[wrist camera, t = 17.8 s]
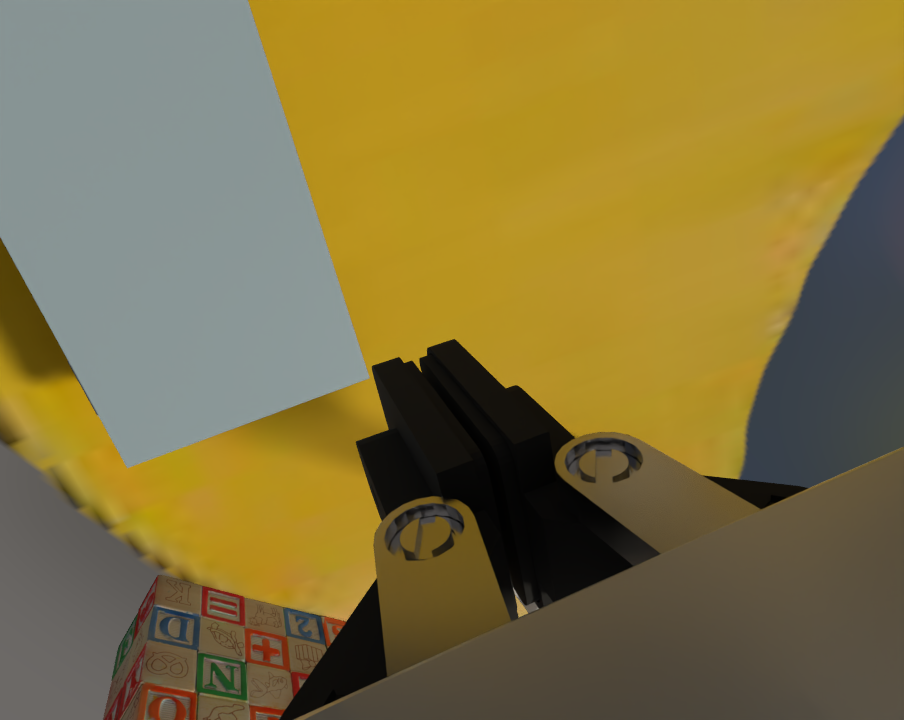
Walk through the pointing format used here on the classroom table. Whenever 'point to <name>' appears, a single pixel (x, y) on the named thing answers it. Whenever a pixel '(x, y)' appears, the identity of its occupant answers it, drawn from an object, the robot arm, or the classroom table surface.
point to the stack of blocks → (213, 656)
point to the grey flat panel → (165, 217)
